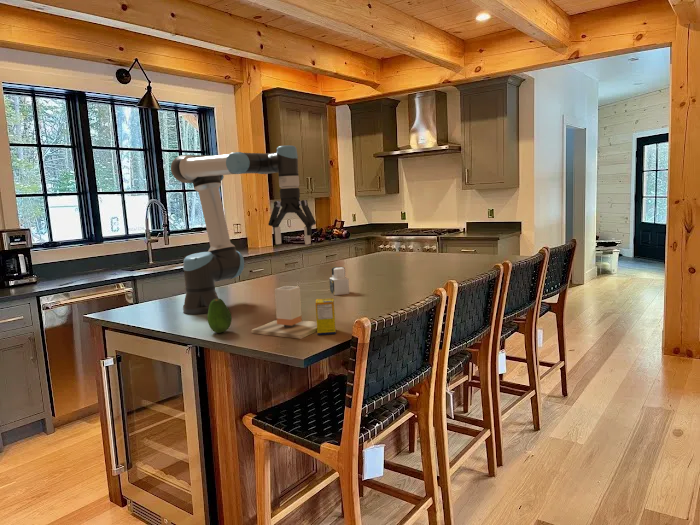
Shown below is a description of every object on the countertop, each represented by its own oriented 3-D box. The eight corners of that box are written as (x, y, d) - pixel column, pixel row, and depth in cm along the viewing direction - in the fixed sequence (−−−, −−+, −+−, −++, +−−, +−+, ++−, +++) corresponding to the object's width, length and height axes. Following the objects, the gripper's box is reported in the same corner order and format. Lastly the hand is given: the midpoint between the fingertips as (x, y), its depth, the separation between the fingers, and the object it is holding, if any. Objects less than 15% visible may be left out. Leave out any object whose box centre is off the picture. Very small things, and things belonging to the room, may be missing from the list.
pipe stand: (251, 333, 176) (249, 298, 175) (280, 321, 190) (277, 289, 188) (301, 338, 167) (298, 301, 165) (327, 326, 180) (325, 291, 179)
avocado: (203, 334, 178) (200, 299, 176) (221, 328, 184) (218, 295, 183) (220, 337, 174) (217, 301, 172) (237, 331, 180) (234, 296, 178)
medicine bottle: (330, 292, 240) (328, 266, 238) (344, 291, 242) (343, 265, 240) (334, 295, 233) (332, 268, 231) (349, 293, 235) (348, 267, 234)
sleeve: (276, 318, 177) (274, 289, 175) (287, 314, 182) (285, 285, 180) (291, 319, 174) (289, 290, 172) (301, 315, 179) (299, 286, 178)
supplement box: (335, 329, 175) (333, 297, 174) (335, 334, 170) (333, 301, 168) (317, 330, 175) (315, 298, 174) (317, 335, 169) (315, 302, 168)
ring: (277, 324, 177) (276, 318, 177) (287, 319, 182) (287, 314, 182) (291, 325, 174) (291, 319, 174) (301, 321, 179) (301, 315, 179)
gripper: (256, 189, 199) (260, 245, 202) (311, 186, 187) (315, 245, 190) (268, 189, 206) (272, 242, 209) (322, 186, 194) (326, 243, 197)
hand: (293, 244), depth 200 cm, fingers open, 13 cm apart
